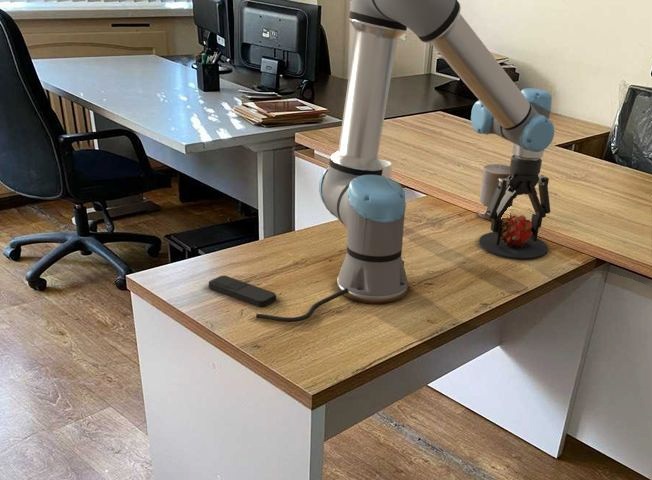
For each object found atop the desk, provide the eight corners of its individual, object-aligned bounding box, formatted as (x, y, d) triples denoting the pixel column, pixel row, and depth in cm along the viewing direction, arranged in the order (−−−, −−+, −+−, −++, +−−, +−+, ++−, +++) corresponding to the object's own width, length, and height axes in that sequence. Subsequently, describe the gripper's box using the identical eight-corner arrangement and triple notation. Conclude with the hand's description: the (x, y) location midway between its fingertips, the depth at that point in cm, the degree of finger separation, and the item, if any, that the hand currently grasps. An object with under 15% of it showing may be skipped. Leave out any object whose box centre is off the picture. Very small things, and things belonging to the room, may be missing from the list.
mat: (501, 263, 171) (501, 260, 171) (466, 236, 185) (466, 234, 184) (561, 256, 179) (561, 253, 178) (523, 231, 192) (524, 229, 192)
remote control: (278, 301, 144) (222, 279, 149) (278, 294, 143) (222, 272, 148) (262, 310, 140) (206, 287, 145) (262, 302, 139) (205, 279, 144)
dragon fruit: (494, 254, 178) (520, 250, 187) (520, 244, 172) (546, 240, 181) (485, 222, 178) (511, 220, 187) (511, 211, 172) (537, 209, 181)
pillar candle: (517, 218, 201) (525, 166, 194) (494, 223, 195) (501, 170, 188) (493, 207, 207) (500, 157, 200) (470, 213, 201) (476, 161, 194)
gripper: (557, 150, 178) (543, 232, 189) (478, 154, 168) (468, 239, 179) (574, 158, 172) (558, 242, 183) (493, 162, 162) (482, 251, 173)
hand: (514, 241), depth 181 cm, fingers closed on dragon fruit, 11 cm apart
